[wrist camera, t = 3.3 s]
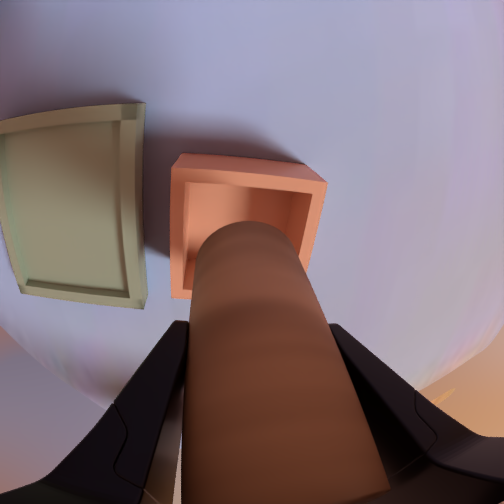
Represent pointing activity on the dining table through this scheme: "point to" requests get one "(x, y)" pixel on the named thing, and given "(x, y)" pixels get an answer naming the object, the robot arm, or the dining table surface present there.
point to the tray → (76, 203)
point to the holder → (238, 205)
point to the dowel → (268, 384)
